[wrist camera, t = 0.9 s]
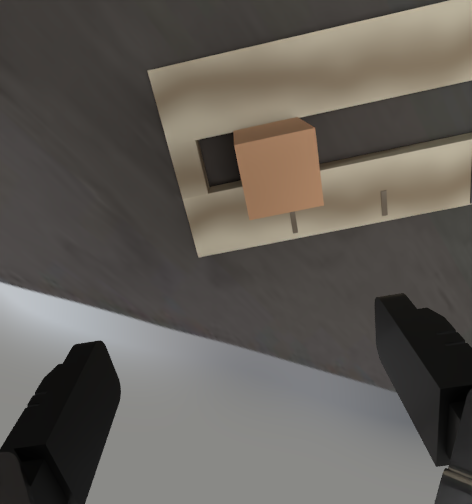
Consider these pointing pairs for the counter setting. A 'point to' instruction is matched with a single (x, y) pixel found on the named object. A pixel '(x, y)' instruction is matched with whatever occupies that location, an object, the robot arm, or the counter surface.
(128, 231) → the counter surface
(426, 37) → the board
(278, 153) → the fader knob
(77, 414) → the robot arm
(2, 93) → the counter surface
